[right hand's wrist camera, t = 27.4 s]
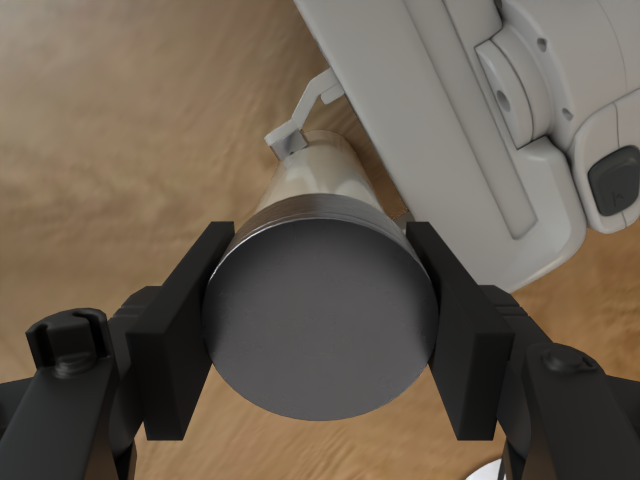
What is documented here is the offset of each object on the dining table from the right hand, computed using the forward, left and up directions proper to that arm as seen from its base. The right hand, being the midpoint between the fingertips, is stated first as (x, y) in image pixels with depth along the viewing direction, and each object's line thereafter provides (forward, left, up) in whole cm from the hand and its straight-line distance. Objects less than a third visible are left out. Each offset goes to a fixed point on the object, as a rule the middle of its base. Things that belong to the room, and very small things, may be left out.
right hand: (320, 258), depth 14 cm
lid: (0, 0, +4) cm, 4 cm away
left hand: (0, -1, -9) cm, 9 cm away
